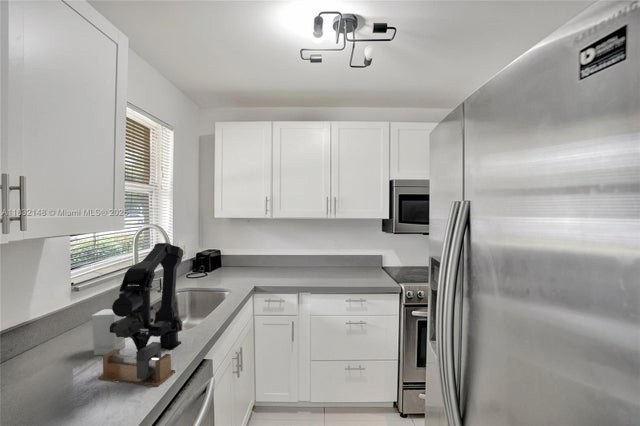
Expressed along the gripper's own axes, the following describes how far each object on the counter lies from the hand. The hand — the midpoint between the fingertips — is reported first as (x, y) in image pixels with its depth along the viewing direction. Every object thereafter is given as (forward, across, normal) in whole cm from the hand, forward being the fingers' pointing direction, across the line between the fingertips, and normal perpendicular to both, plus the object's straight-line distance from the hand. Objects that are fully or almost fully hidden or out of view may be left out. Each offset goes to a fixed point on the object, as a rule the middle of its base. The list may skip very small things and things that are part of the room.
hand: (141, 352), depth 99 cm
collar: (+6, +3, 0) cm, 7 cm away
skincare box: (+8, -26, +13) cm, 30 cm away
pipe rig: (+8, -2, 0) cm, 8 cm away
